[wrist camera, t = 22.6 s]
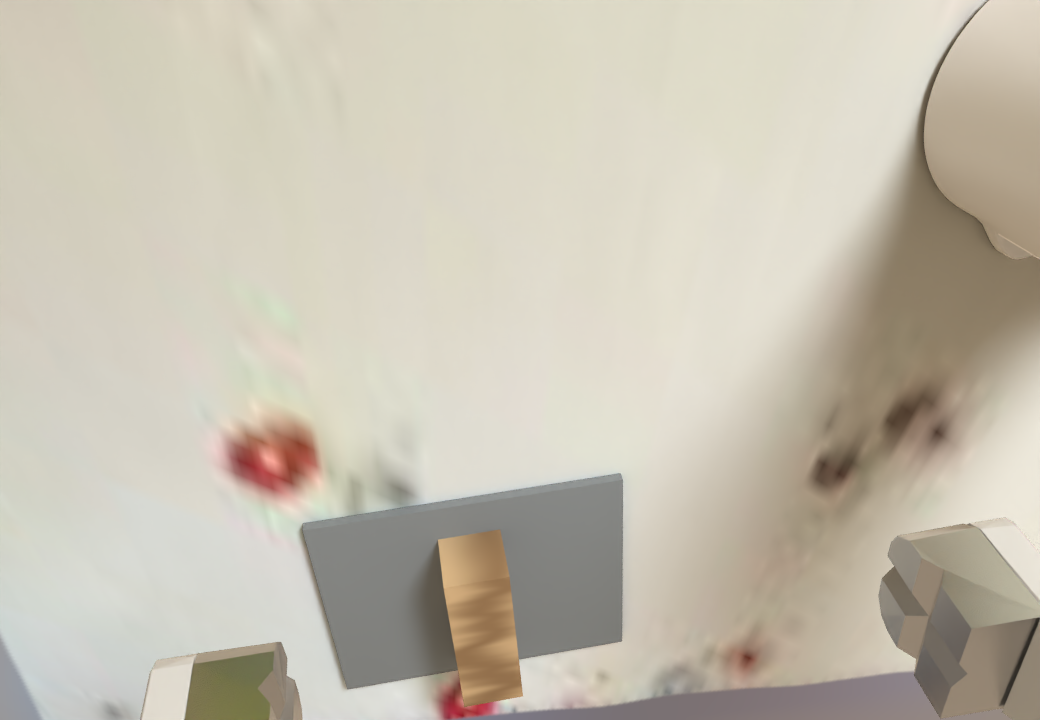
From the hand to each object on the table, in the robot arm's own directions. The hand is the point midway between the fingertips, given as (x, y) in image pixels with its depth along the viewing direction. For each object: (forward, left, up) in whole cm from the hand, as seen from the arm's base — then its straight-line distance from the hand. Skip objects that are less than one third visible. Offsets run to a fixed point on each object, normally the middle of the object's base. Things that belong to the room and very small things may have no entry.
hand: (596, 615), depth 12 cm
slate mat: (+1, +38, -34) cm, 51 cm away
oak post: (+1, +45, -32) cm, 55 cm away
